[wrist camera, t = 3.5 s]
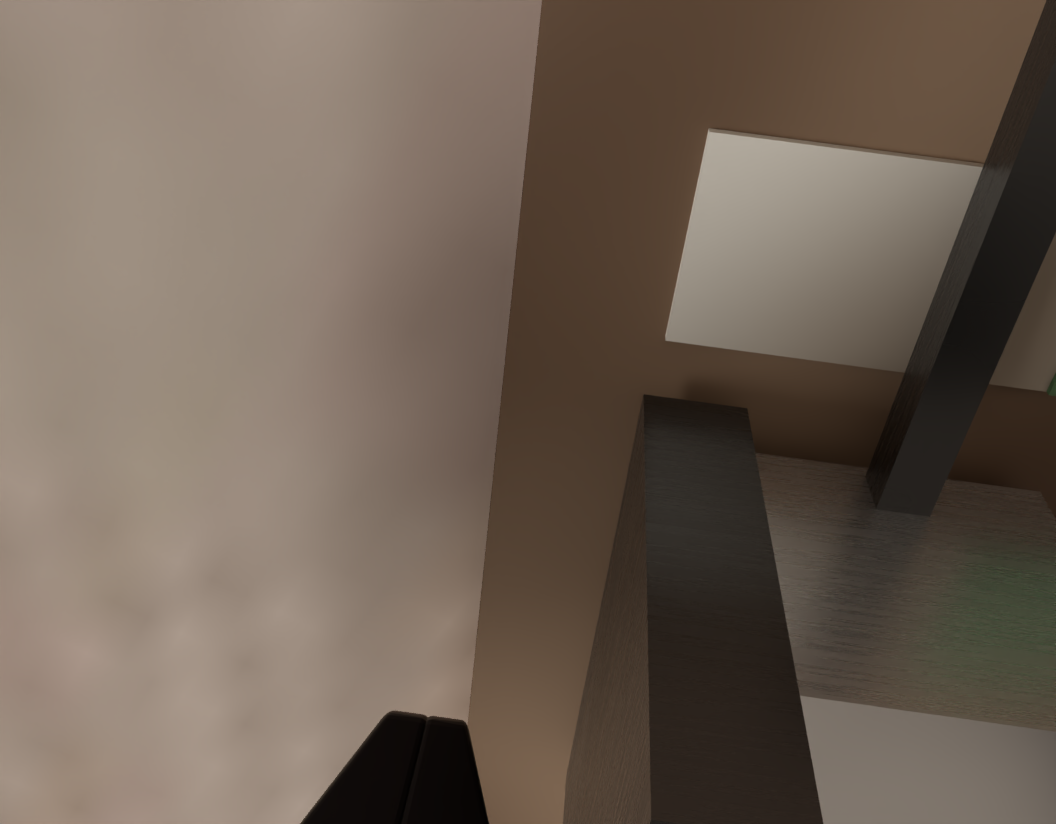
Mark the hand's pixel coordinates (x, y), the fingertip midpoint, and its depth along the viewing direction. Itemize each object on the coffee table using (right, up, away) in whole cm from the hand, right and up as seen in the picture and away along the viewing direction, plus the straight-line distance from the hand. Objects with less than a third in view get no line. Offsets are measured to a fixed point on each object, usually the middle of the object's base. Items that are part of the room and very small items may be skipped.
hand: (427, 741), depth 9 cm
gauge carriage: (+4, +2, 0) cm, 5 cm away
